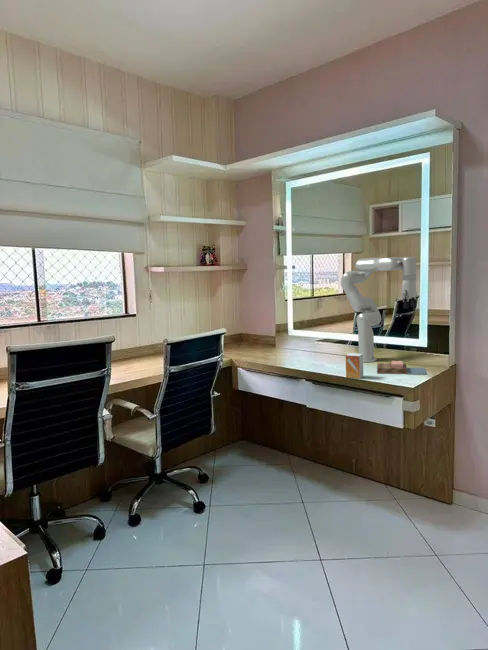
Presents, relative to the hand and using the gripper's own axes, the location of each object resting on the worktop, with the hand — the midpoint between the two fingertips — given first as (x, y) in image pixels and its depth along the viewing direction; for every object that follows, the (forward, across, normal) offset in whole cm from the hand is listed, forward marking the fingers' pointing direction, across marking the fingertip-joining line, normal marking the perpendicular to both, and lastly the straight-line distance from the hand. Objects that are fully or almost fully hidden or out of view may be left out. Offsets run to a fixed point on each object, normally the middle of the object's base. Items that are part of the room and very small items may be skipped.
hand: (409, 307), depth 253 cm
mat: (+36, +7, +6) cm, 37 cm away
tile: (+32, +12, -3) cm, 34 cm away
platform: (+36, +13, -6) cm, 38 cm away
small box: (+36, +36, -17) cm, 53 cm away
